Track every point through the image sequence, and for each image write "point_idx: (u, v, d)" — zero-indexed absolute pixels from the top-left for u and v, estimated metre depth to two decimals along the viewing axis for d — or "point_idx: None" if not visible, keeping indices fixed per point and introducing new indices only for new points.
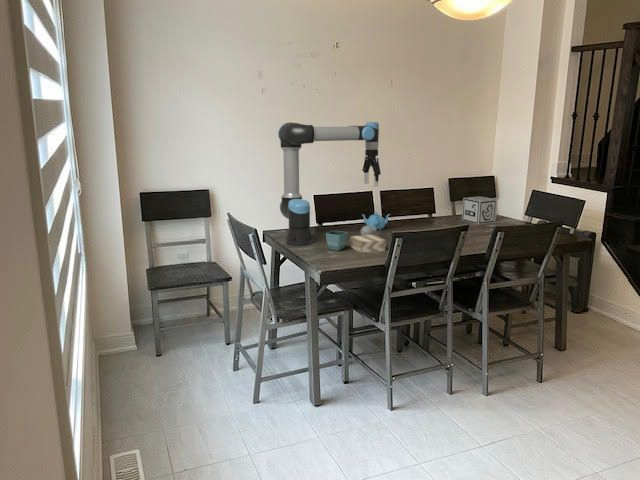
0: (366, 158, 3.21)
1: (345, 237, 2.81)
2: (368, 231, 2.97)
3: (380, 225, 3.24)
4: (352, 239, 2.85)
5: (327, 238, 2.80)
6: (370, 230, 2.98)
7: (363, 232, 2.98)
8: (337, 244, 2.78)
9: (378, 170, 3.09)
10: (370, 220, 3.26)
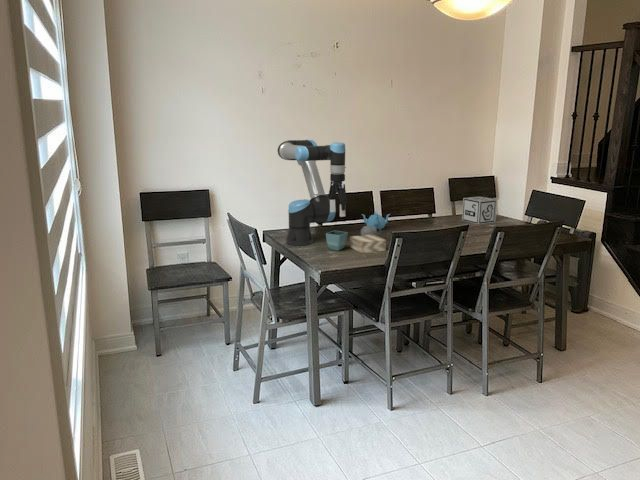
0: (332, 183, 2.81)
1: (345, 237, 2.81)
2: (368, 231, 2.97)
3: (380, 225, 3.24)
4: (352, 239, 2.85)
5: (327, 238, 2.80)
6: (370, 230, 2.98)
7: (363, 232, 2.98)
8: (337, 244, 2.78)
9: (344, 198, 2.69)
10: (370, 220, 3.26)
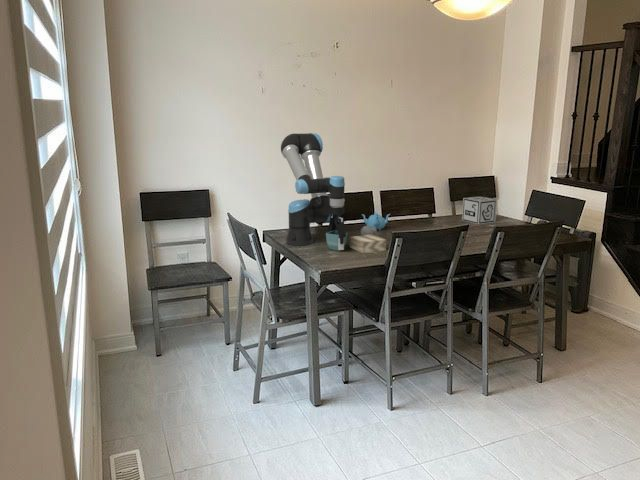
0: (331, 216, 2.84)
1: (345, 237, 2.81)
2: (368, 231, 2.97)
3: (380, 225, 3.24)
4: (352, 239, 2.84)
5: (327, 238, 2.80)
6: (370, 230, 2.98)
7: (363, 232, 2.98)
8: (337, 244, 2.78)
9: (343, 232, 2.73)
10: (370, 220, 3.26)
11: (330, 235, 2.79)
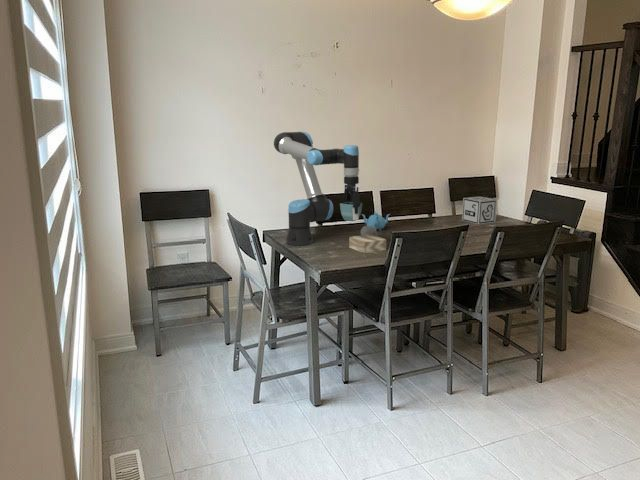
0: (346, 187, 2.81)
1: (360, 207, 2.77)
2: (368, 231, 2.97)
3: (380, 225, 3.24)
4: (352, 240, 2.84)
5: (341, 209, 2.77)
6: (370, 230, 2.98)
7: (363, 232, 2.98)
8: (351, 214, 2.74)
9: (357, 201, 2.69)
10: (370, 220, 3.26)
11: (344, 205, 2.75)
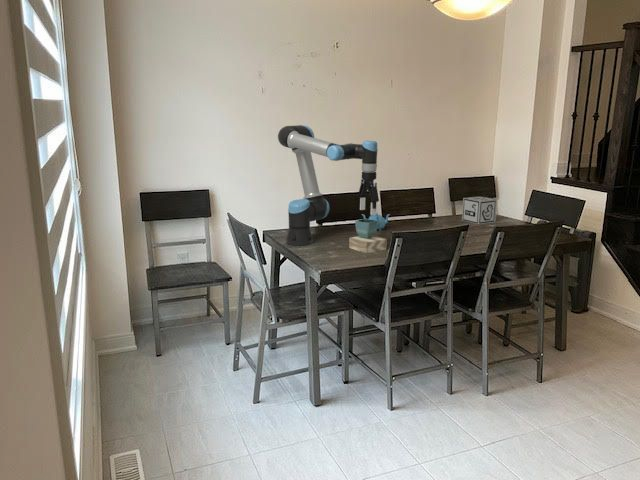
0: (362, 181, 2.82)
1: (374, 225, 2.83)
2: None
3: (380, 225, 3.24)
4: (352, 240, 2.83)
5: (356, 226, 2.83)
6: None
7: None
8: (366, 232, 2.80)
9: (376, 196, 2.70)
10: None
11: (359, 223, 2.81)
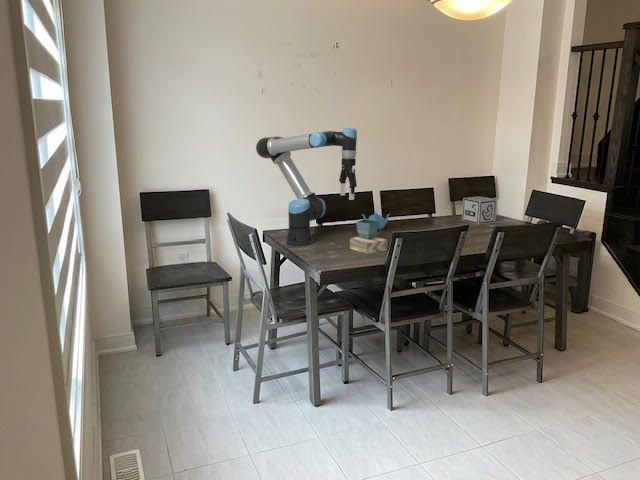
0: (343, 167, 2.93)
1: (376, 226, 2.82)
2: None
3: (380, 225, 3.24)
4: (353, 241, 2.82)
5: (357, 226, 2.82)
6: None
7: None
8: (367, 232, 2.79)
9: (354, 182, 2.81)
10: None
11: (360, 223, 2.80)
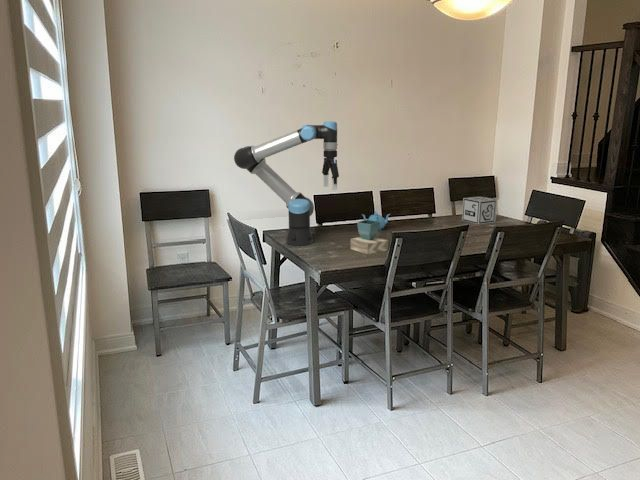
0: (325, 159, 3.04)
1: (377, 226, 2.81)
2: None
3: (380, 225, 3.24)
4: (354, 241, 2.81)
5: (358, 227, 2.81)
6: None
7: None
8: (368, 233, 2.78)
9: (336, 172, 2.92)
10: None
11: (361, 224, 2.79)
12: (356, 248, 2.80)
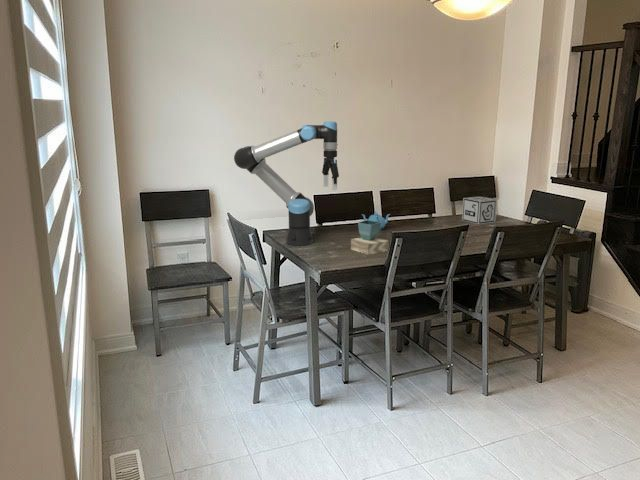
0: (325, 159, 3.04)
1: (377, 227, 2.79)
2: None
3: (380, 225, 3.24)
4: (354, 242, 2.80)
5: (359, 227, 2.80)
6: None
7: None
8: (369, 233, 2.77)
9: (336, 172, 2.92)
10: (370, 220, 3.26)
11: (362, 224, 2.78)
12: (356, 248, 2.79)
